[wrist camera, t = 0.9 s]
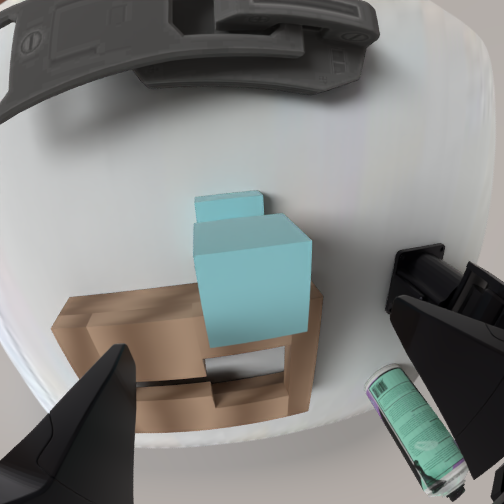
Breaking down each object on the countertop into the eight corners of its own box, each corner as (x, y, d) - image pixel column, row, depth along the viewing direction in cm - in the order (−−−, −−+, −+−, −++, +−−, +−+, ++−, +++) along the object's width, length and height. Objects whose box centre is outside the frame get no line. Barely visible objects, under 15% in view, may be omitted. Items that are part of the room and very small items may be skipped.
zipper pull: (-42, 29, 3) (391, -39, 6) (8, 45, 9) (341, -5, 12) (-53, 166, 7) (419, 91, 10) (7, 151, 13) (354, 98, 16)
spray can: (359, 398, 30) (427, 517, 12) (370, 371, 28) (454, 503, 10) (392, 385, 31) (462, 491, 13) (405, 358, 29) (490, 472, 11)
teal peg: (257, 190, 17) (312, 240, 9) (260, 248, 19) (307, 331, 11) (194, 197, 17) (193, 256, 9) (202, 255, 19) (209, 347, 10)
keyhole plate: (301, 268, 20) (323, 296, 17) (295, 381, 26) (308, 411, 22) (69, 297, 18) (50, 328, 14) (122, 401, 23) (118, 432, 19)
